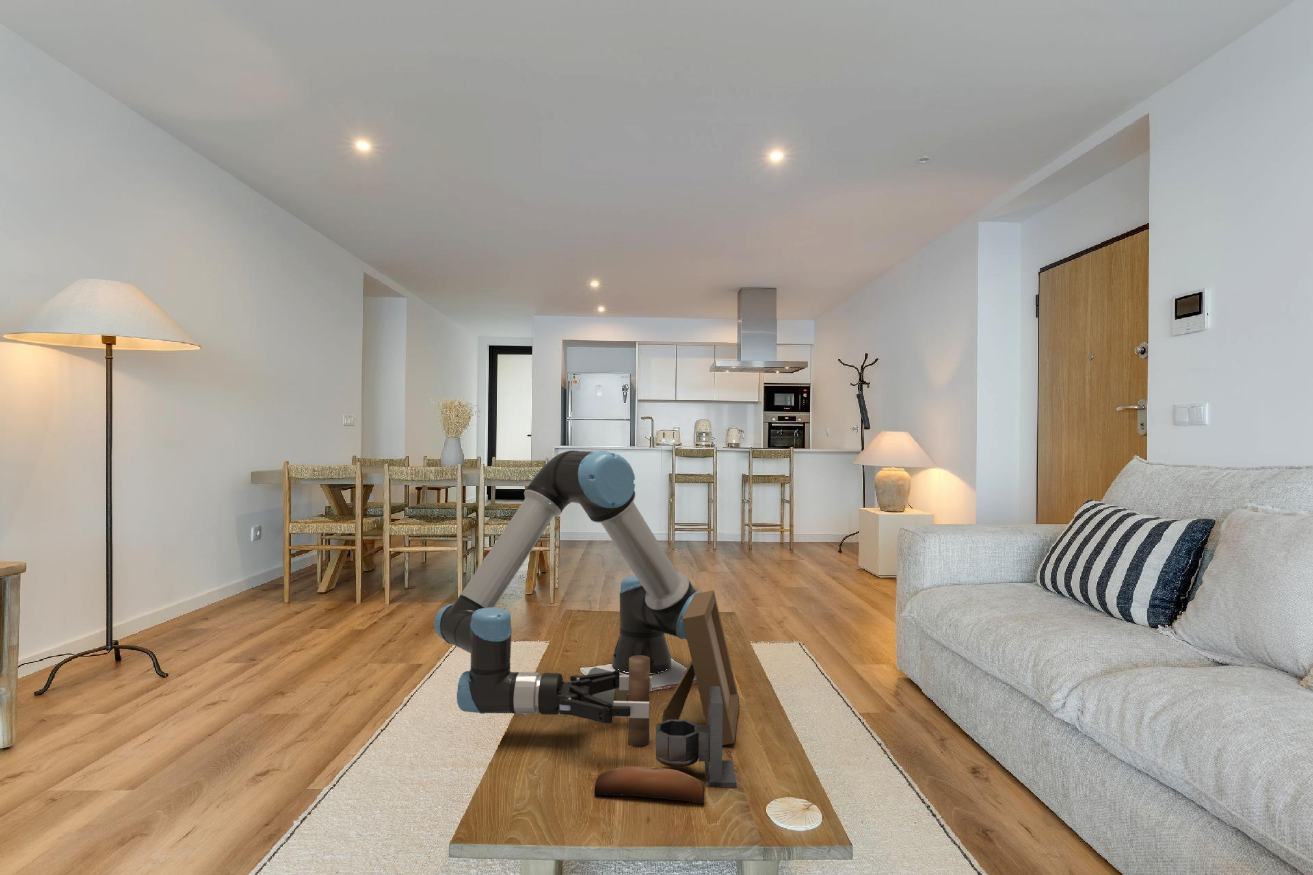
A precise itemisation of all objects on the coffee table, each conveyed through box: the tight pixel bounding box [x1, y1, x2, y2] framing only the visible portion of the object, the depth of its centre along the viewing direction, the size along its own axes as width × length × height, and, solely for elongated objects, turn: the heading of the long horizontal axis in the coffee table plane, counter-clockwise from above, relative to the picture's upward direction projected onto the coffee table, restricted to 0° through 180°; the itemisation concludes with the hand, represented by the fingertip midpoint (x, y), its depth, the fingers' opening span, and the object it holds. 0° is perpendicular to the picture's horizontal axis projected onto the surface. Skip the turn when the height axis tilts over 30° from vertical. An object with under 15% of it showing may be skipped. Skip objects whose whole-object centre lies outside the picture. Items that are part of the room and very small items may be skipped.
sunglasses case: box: [593, 765, 706, 805], centre depth 113 cm, size 18×7×7 cm
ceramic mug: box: [586, 667, 629, 704], centre depth 151 cm, size 11×8×8 cm
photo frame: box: [661, 590, 740, 746], centre depth 141 cm, size 15×22×25 cm
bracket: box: [655, 686, 738, 788], centre depth 119 cm, size 14×8×14 cm, turn 89°
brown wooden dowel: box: [627, 655, 651, 748], centre depth 132 cm, size 4×4×16 cm
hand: (650, 696), depth 131 cm, fingers open, 13 cm apart
